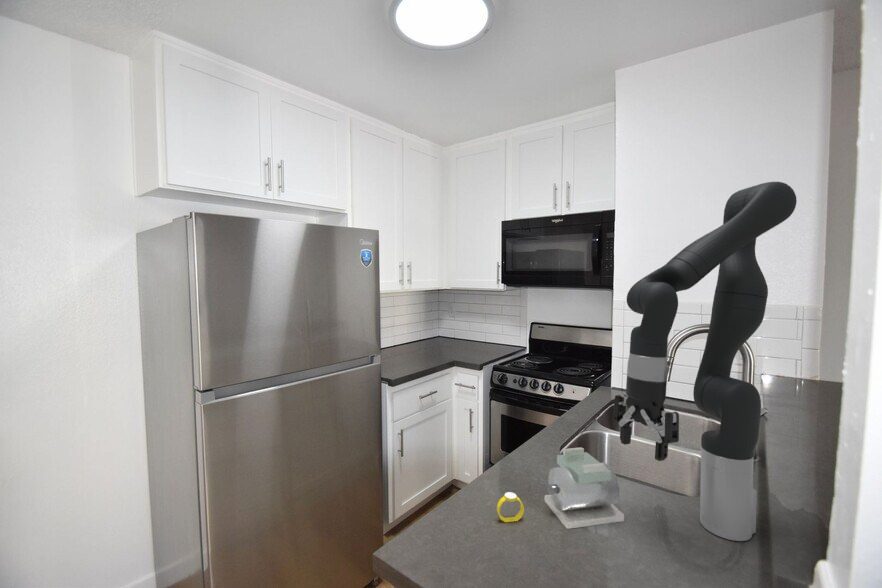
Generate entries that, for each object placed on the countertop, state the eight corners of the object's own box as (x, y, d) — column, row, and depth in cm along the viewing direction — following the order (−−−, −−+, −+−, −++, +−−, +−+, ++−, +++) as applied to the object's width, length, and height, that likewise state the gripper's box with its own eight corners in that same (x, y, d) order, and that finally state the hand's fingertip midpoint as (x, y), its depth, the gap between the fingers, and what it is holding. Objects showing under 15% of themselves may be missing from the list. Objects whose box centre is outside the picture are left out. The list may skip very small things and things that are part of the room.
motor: (596, 494, 99) (596, 444, 99) (624, 521, 88) (624, 464, 88) (539, 501, 96) (539, 449, 96) (560, 529, 86) (560, 471, 85)
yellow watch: (520, 516, 91) (522, 491, 91) (524, 524, 88) (526, 498, 88) (495, 517, 90) (496, 491, 90) (498, 524, 88) (500, 498, 87)
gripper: (691, 383, 78) (685, 463, 78) (631, 368, 91) (627, 437, 92) (664, 385, 75) (659, 468, 75) (607, 369, 88) (602, 440, 89)
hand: (641, 451), depth 83 cm, fingers open, 8 cm apart
